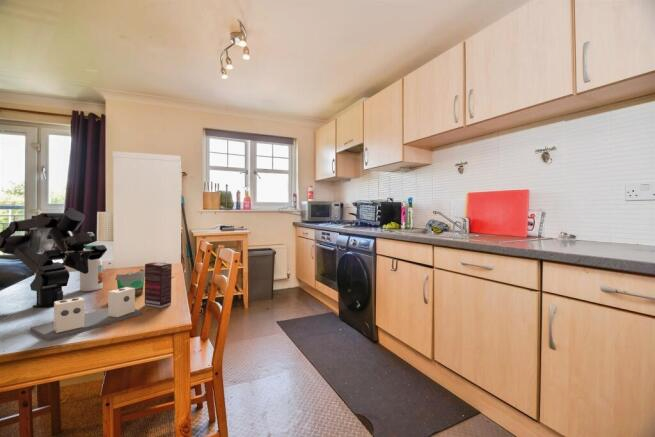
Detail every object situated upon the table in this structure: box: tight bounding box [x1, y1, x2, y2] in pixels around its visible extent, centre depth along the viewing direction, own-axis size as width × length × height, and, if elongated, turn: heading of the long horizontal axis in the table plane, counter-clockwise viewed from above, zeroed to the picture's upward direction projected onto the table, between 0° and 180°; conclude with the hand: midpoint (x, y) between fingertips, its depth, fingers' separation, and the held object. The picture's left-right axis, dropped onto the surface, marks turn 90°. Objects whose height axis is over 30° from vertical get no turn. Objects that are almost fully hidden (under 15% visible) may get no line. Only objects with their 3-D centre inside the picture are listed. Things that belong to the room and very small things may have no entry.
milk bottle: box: [79, 244, 104, 292], centre depth 125 cm, size 8×8×20 cm
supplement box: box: [144, 261, 173, 309], centre depth 107 cm, size 9×5×16 cm, turn 71°
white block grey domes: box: [53, 296, 85, 333], centre depth 82 cm, size 4×6×8 cm
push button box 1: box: [107, 287, 136, 317], centre depth 94 cm, size 4×6×8 cm
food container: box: [115, 269, 145, 298], centre depth 118 cm, size 12×6×10 cm, turn 168°
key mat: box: [30, 307, 143, 342], centre depth 90 cm, size 24×13×1 cm, turn 152°
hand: (86, 272), depth 99 cm, fingers closed
